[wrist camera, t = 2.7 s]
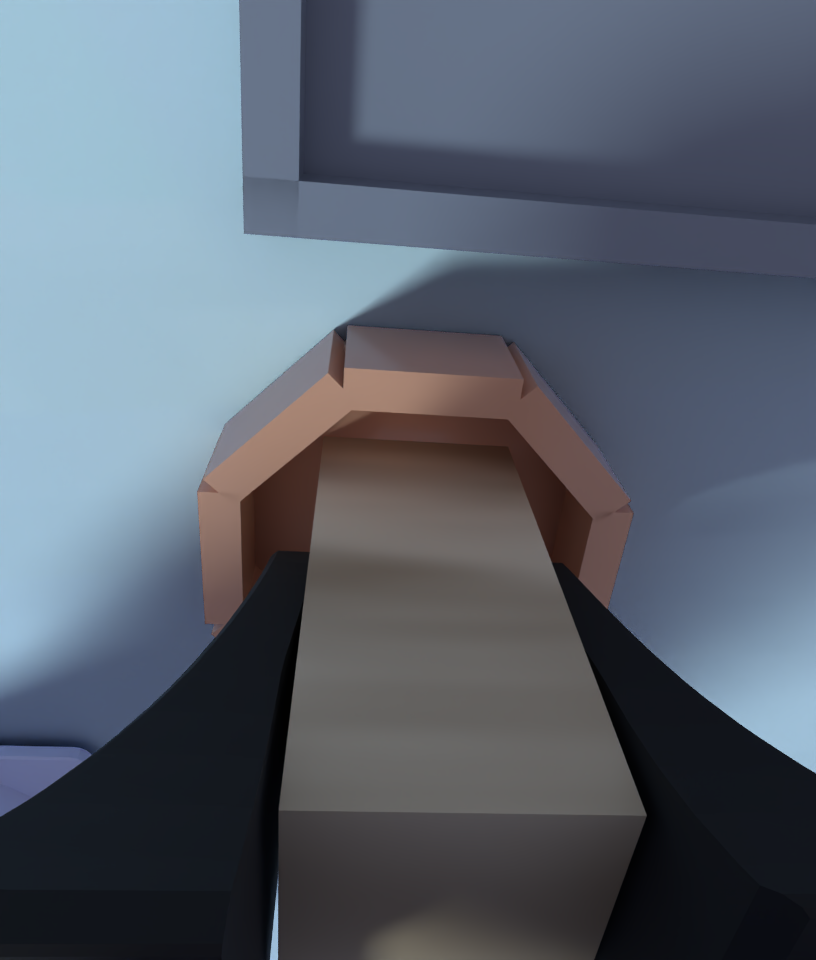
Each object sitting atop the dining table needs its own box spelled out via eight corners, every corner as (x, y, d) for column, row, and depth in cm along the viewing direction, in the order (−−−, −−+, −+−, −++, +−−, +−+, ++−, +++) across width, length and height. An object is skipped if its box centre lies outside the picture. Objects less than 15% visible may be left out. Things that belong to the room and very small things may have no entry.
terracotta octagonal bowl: (552, 651, 17) (576, 724, 15) (228, 640, 17) (210, 715, 15) (625, 344, 14) (667, 388, 12) (215, 316, 13) (189, 357, 11)
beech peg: (483, 593, 16) (576, 1009, 9) (318, 586, 15) (278, 1011, 8) (508, 447, 14) (646, 815, 7) (324, 436, 14) (278, 810, 7)
